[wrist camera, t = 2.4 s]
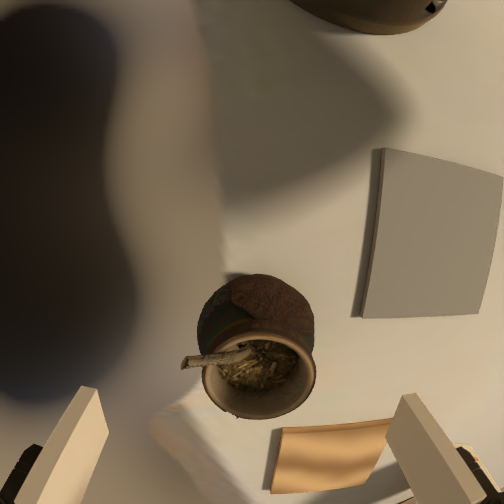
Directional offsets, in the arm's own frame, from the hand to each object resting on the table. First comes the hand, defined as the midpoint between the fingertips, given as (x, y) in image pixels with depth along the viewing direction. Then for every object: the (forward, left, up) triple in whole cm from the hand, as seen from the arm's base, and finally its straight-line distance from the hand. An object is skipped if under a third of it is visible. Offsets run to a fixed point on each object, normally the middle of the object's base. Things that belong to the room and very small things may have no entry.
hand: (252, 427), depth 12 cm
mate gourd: (0, 0, -11) cm, 11 cm away
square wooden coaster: (+17, +9, -11) cm, 22 cm away
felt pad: (-6, +14, -11) cm, 19 cm away
